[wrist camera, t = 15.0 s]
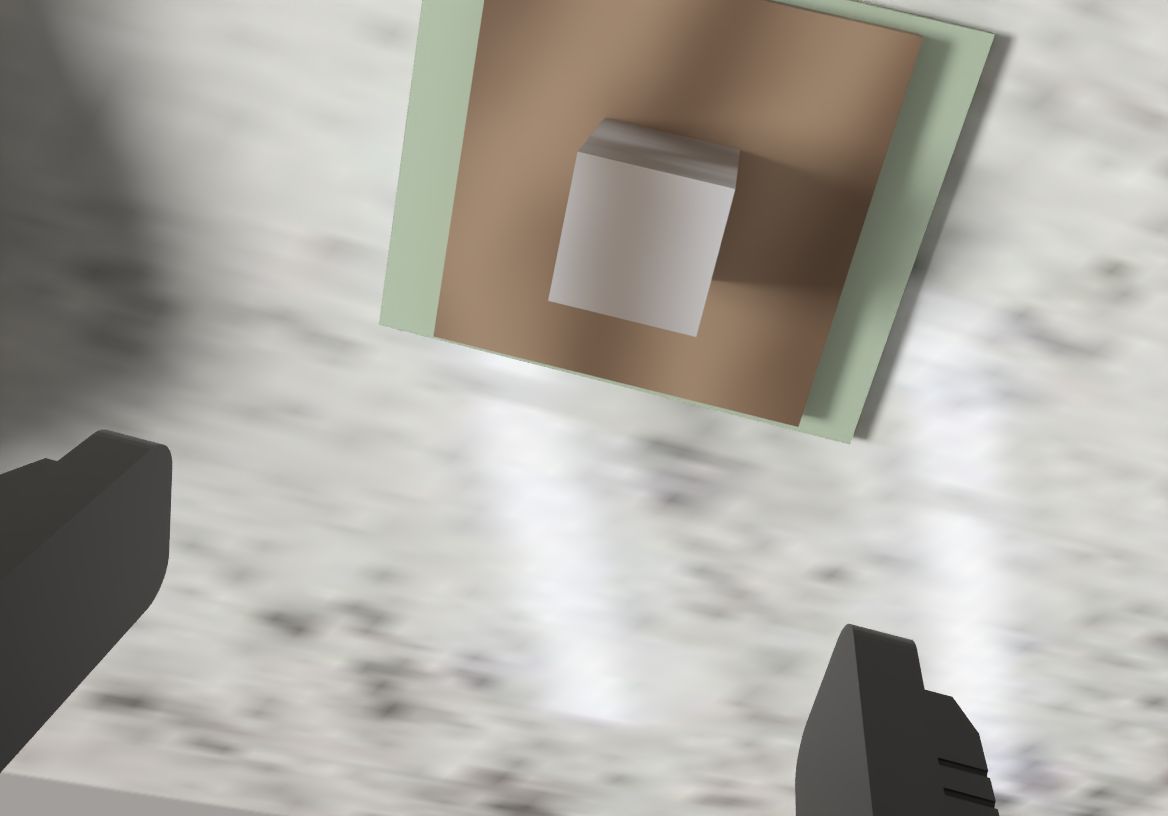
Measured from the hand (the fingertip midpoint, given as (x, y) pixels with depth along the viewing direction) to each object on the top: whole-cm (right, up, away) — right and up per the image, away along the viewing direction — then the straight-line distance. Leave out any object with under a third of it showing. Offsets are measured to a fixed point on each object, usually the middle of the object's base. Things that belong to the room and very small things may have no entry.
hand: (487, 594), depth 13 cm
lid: (+3, +9, +21) cm, 23 cm away
